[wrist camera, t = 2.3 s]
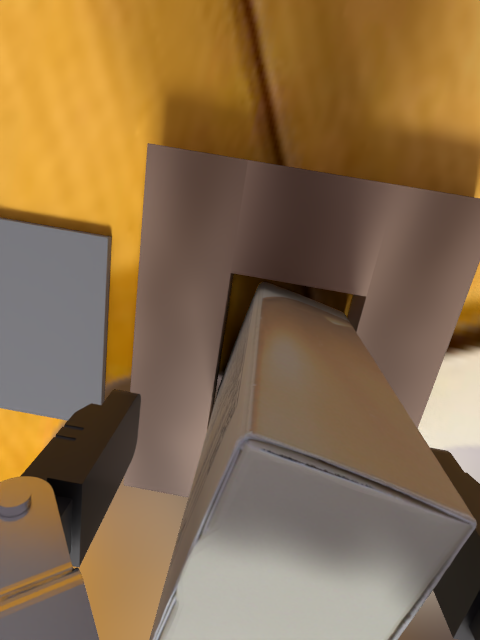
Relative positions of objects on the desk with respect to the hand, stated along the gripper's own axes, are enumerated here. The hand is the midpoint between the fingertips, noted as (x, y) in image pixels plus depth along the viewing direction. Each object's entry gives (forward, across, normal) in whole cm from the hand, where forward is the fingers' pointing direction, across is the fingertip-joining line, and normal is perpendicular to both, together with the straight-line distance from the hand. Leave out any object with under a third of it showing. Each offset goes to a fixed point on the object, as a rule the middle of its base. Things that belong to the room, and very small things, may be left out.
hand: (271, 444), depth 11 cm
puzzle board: (+8, -1, 0) cm, 8 cm away
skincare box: (+8, -1, 0) cm, 8 cm away
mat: (+8, +12, +1) cm, 15 cm away
